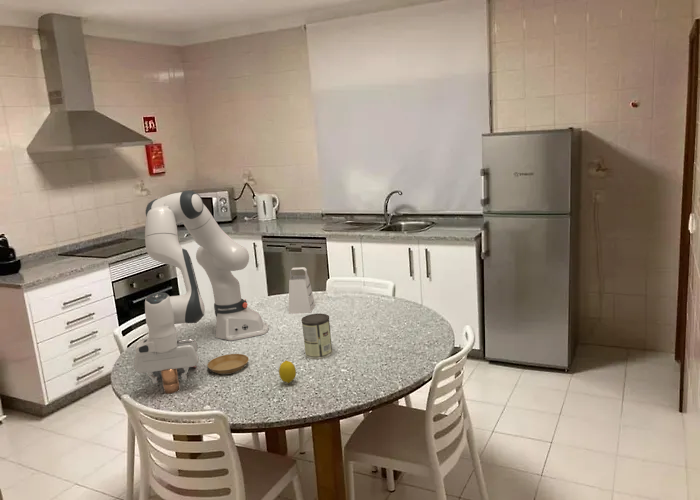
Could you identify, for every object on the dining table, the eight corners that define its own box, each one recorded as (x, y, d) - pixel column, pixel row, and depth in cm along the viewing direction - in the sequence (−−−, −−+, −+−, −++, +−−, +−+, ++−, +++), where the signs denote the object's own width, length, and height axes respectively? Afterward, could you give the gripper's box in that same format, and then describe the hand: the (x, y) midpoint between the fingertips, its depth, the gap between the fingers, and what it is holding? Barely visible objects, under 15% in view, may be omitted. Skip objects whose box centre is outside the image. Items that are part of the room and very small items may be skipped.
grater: (293, 306, 271) (289, 266, 267) (315, 305, 269) (311, 265, 265) (288, 313, 261) (284, 271, 256) (310, 313, 259) (306, 270, 255)
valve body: (161, 364, 214) (158, 346, 212) (199, 359, 215) (196, 341, 214) (152, 382, 198) (149, 363, 197) (193, 376, 200) (190, 358, 198)
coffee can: (311, 347, 217) (307, 312, 214) (336, 349, 214) (333, 313, 211) (300, 358, 208) (296, 322, 205) (326, 360, 204) (323, 323, 202)
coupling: (180, 386, 193) (177, 364, 191) (178, 392, 188) (175, 370, 186) (165, 388, 192) (162, 366, 191) (163, 394, 188) (159, 372, 186)
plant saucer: (214, 361, 213) (213, 354, 212) (253, 358, 212) (252, 352, 211) (203, 378, 198) (202, 371, 198) (244, 375, 198) (243, 368, 197)
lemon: (280, 380, 191) (278, 358, 189) (297, 378, 191) (294, 356, 189) (280, 387, 185) (277, 365, 184) (297, 385, 186) (294, 363, 184)
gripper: (197, 335, 191) (202, 373, 194) (134, 342, 188) (141, 381, 191) (194, 341, 185) (200, 380, 188) (130, 349, 182) (136, 389, 185)
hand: (170, 381), depth 189 cm, fingers open, 8 cm apart
